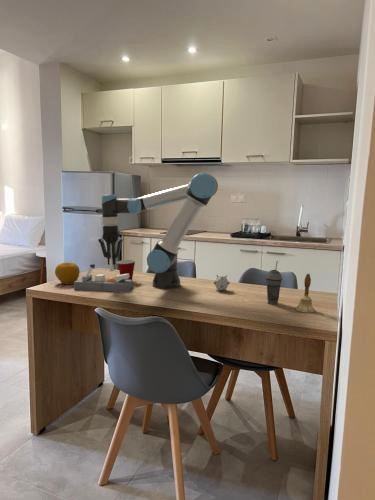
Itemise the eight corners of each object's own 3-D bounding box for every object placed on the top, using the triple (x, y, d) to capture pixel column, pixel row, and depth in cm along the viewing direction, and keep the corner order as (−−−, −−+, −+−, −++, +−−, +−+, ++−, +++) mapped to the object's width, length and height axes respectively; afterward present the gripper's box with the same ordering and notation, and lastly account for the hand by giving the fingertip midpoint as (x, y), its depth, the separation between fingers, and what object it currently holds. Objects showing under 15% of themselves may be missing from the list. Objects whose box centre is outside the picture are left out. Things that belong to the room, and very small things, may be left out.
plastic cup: (119, 279, 210) (118, 258, 209) (137, 279, 210) (137, 259, 208) (114, 283, 200) (114, 262, 198) (134, 284, 199) (133, 262, 197)
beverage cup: (269, 300, 171) (271, 258, 168) (283, 303, 167) (285, 260, 164) (261, 303, 166) (263, 260, 163) (276, 306, 161) (278, 262, 158)
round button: (115, 285, 190) (115, 277, 189) (113, 287, 186) (113, 279, 186) (108, 285, 190) (108, 277, 190) (106, 286, 187) (106, 278, 186)
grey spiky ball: (217, 297, 188) (207, 280, 191) (230, 290, 192) (220, 274, 194) (222, 293, 180) (212, 275, 182) (236, 285, 184) (225, 268, 186)
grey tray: (132, 287, 192) (132, 275, 191) (127, 291, 182) (127, 279, 181) (82, 284, 195) (81, 273, 195) (74, 289, 186) (73, 277, 185)
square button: (104, 282, 190) (104, 274, 190) (102, 283, 187) (102, 275, 186) (97, 281, 191) (97, 274, 190) (95, 283, 187) (95, 275, 186)
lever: (90, 279, 192) (97, 264, 190) (86, 281, 187) (93, 265, 185) (86, 277, 192) (92, 262, 190) (82, 279, 187) (89, 263, 185)
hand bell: (305, 306, 162) (307, 271, 160) (319, 311, 155) (322, 275, 153) (291, 308, 158) (293, 273, 156) (305, 314, 151) (307, 276, 149)
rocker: (129, 276, 188) (128, 273, 188) (127, 278, 184) (126, 274, 184) (118, 278, 189) (117, 275, 189) (115, 280, 185) (114, 276, 185)
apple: (66, 287, 190) (65, 266, 188) (50, 284, 196) (49, 263, 195) (85, 282, 201) (84, 262, 199) (69, 279, 207) (68, 260, 206)
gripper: (124, 224, 187) (126, 269, 190) (100, 224, 188) (102, 269, 191) (120, 225, 179) (122, 272, 182) (95, 225, 181) (97, 272, 184)
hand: (112, 270), depth 187 cm, fingers closed
